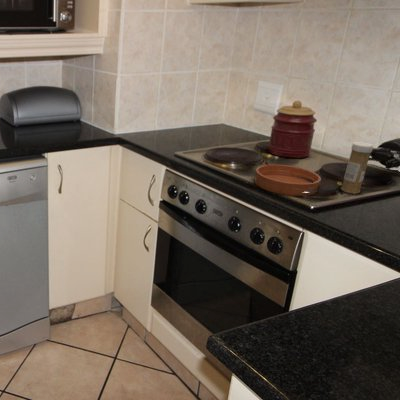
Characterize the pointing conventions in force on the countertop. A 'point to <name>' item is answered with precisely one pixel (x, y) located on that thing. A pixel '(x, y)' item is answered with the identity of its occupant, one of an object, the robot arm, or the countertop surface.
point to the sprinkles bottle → (356, 167)
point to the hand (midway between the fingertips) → (370, 160)
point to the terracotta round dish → (286, 180)
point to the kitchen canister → (292, 131)
